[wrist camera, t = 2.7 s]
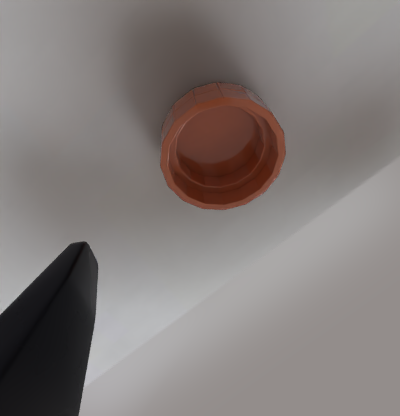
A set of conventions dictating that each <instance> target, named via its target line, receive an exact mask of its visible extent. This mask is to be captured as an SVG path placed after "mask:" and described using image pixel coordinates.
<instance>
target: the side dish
mask: <svg viewBox="0 0 400 416" xmlns="http://www.w3.org/2000/svg"><path fill="white" fill-rule="evenodd" d="M285 154H286V151H285V140H284V132H283V130H282V128H281V127H280V125H279V124H278V122H277V120H276V119H275V117H274V115H273V114H272V112H271V111H270V110H269V109H268V107H267V106H266V105H265V103H264V102H263V101H262V100H261V98H259V96H257V95H256V94H254V93H252V92H251V91H249V90H248V89H246V88H245V87H243V86H240V85H237V84H229V83H221V82H217V83H211V84H208V85H204V86H201V87H197V88H194V89H193V90H190V91H189V92H188V93H187V94H185V95H184V96H183V97H182V98H180V99H179V100H178V101H177V102H176V103H174V105H173V106H172V107H171V109H170V111H169V113H168V115H167V117H166V119H165V121H164V122H163V125H162V134H161V156H160V166H161V170H162V172H163V175H164V177H165V180H166V182H167V185H168V186H169V188H170V189H171V190H173V191H174V192H175V193H176V194H177V195H178V196H179V197H180V198H181V199H182V200H183V201H185V202H187V203H190V204H192V205H194V206H197V207H199V208H203V209H215V210H226V209H230V208H234V207H238V206H241V205H245V204H247V203H249V202H250V201H252V200H253V199H255V198H257V197H258V196H260V195H261V194H263V193H264V192H265V191H266V190H267V189H268V188H269V186H270V185H271V184H272V183H273V182H274V180H275V179H276V178H277V177H278V175H279V173H280V170H281V167H282V164H283V161H284V158H285Z"/></svg>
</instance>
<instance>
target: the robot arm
mask: <svg viewBox="0 0 400 416" xmlns="http://www.w3.org/2000/svg"><path fill="white" fill-rule="evenodd" d="M97 281H98V263H97V260H96V258H95V256H94V254H93V252H92V250H91V248H90V246H89V244H88V243H87V242H84V241H83V242H76V243H72V244H70V245H69V246H68V247H67V248H66V249H65V250H64V251H63V252H62V253H61V254H60V255H59V256H58V257H57V258H56V259H55V260H54V261H53V262H52V263H51V264H50V265H49V266H48V267H47V268H46V269H45V270H44V271H43V272H42V273H41V274H40V275H39V276H38V277H37V278H36V279H35V280H34V281H33V282H32V283H31V284H30V285H29V286H28V287H27V288H26V289H25V290H24V291H23V292H22V293H21V294H20V295H19V296H18V297H17V298H16V299H15V300H14V302H13V303H12V304H11V305H10V306H9V307H8V308H7V309H6V310H5V311H4V312H3V313H2V314H1V315H0V416H78V415H79V410H80V403H81V398H82V392H83V387H84V381H85V375H86V370H87V364H88V358H89V353H90V347H91V341H92V335H93V330H94V323H95V315H96V299H97Z"/></svg>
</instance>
